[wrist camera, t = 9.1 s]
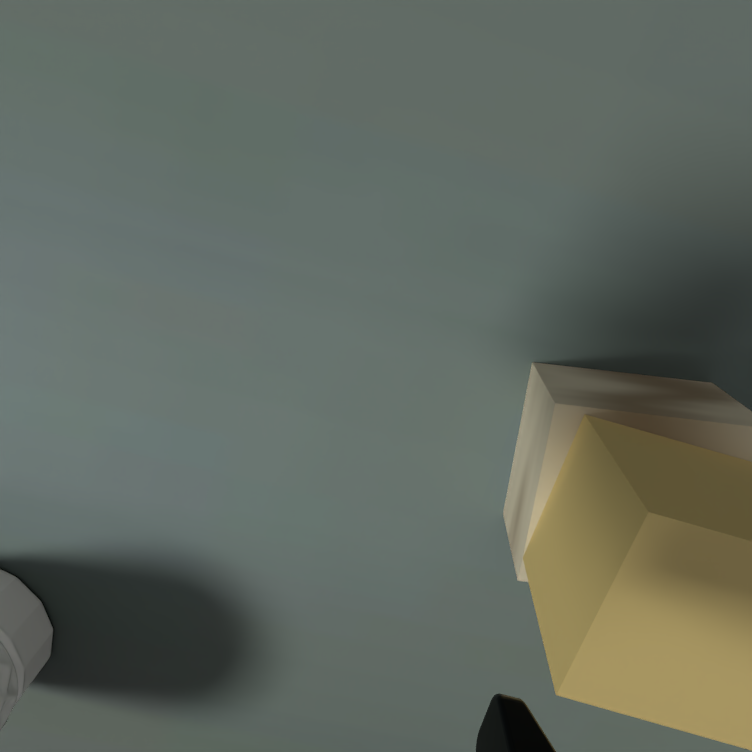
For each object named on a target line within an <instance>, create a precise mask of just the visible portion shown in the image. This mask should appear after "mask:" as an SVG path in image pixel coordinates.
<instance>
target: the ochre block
mask: <svg viewBox="0 0 752 752" xmlns="http://www.w3.org/2000/svg"><path fill="white" fill-rule="evenodd" d="M523 561H524V565H525V570H526V574H527V578H528V582H529V586H530V590H531V594H532V598H533V602H534V606H535V611H536V615H537V619H538V623H539V627H540V631H541V635H542V639H543V643H544V647H545V652H546V656H547V660H548V664H549V668H550V672H551V676H552V680H553V684H554V689H555V693H556V695H558V696H561V697H565V698H568V699H572V700H575V701H579V702H583V703H586V704H590V705H593V706H597V707H600V708H604V709H607V710H611V711H614V712H618V713H621V714H625V715H628V716H632V717H636V718H639V719H643V720H646V721H650V722H653V723H657V724H660V725H664V726H667V727H671V728H674V729H678V730H681V731H685V732H689V733H692V734H696V735H699V736H703V737H706V738H710V739H713V740H717V741H720V742H724V743H727V744H731V745H734V746H738V747H742V748H745V749H749V750H752V462H750V461H747V460H743V459H740V458H736V457H733V456H729V455H726V454H722V453H719V452H715V451H712V450H708V449H705V448H701V447H698V446H694V445H691V444H687V443H684V442H680V441H677V440H673V439H670V438H666V437H663V436H659V435H656V434H652V433H649V432H645V431H642V430H638V429H635V428H631V427H628V426H624V425H621V424H617V423H614V422H610V421H607V420H603V419H600V418H596V417H593V416H589V415H586V414H584V417H583V419H582V421H581V424H580V426H579V428H578V431H577V433H576V435H575V437H574V440H573V442H572V444H571V447H570V449H569V451H568V454H567V456H566V458H565V461H564V463H563V465H562V468H561V470H560V472H559V475H558V477H557V479H556V482H555V484H554V486H553V489H552V491H551V493H550V496H549V498H548V500H547V502H546V505H545V507H544V509H543V512H542V514H541V516H540V519H539V521H538V523H537V526H536V528H535V530H534V533H533V535H532V537H531V540H530V542H529V544H528V547H527V549H526V551H525V554H524V556H523Z"/></svg>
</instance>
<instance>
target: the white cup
mask: <svg viewBox="0 0 752 752" xmlns="http://www.w3.org/2000/svg"><path fill="white" fill-rule="evenodd" d="M52 638H53V627H52V625H51V623H50V620H49V618H48V616H47V613H46V611H45V609H44V606H43V604H42V602H41V601H40V600H39V599H38V598H37V597H36V596H35V595H34V594H33V593H32V592H31V591H30V590H29V589H28V588H27V587H26V586H25V585H24V584H23V583H22V582H21V581H20V580H19V579H18V578H17V577H15V576H13V575H11V574H9V573H7V572H5V571H3V570H1V569H0V730H1V729H2V727H3V726H4V725H5V724H6V722H7V720H8V717H9V715H10V713H11V711H12V709H13V707H14V706H15V705H16V703H17V702H18V701H19V699H20V698H21V696H22V695H23V693H24V692H25V691H26V689H27V688H28V687H29V685H30V684H31V682H32V681H33V680H34V678H35V677H36V676H37V674H38V673H39V672H40V670H41V669H42V667H43V666H44V665H45V663H46V662H47V661H48V659H49V658H50V656H51V647H52Z"/></svg>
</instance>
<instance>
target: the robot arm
mask: <svg viewBox="0 0 752 752" xmlns="http://www.w3.org/2000/svg"><path fill="white" fill-rule="evenodd" d="M476 752H556V751H555V749H554V748H553V746H552V745H551V743H550V742H549V740H548V738H547V737H546V735H545V734H544V732H543V730H542V729H541V727H540V726H539V724H538V723H537V721H536V719H535V718H534V716H533V715H532V713H531V711H530V710H529V708H528V707H527V705H526V704H525V703H524V702H523V701H522V700H521V699H519V698H515V697H511V696H507V695H503V694H496V695H494V697H493V698H492V700H491V702H490V705H489V707H488V710H487V712H486V715H485V717H484V720H483V722H482V725H481V727H480V730H479V733H478V737H477V744H476Z"/></svg>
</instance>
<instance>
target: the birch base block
mask: <svg viewBox="0 0 752 752" xmlns="http://www.w3.org/2000/svg"><path fill="white" fill-rule="evenodd" d="M584 414H586V415H589V416H593V417H596V418H600V419H603V420H607V421H610V422H614V423H617V424H621V425H624V426H628V427H631V428H635V429H638V430H642V431H645V432H649V433H652V434H656V435H659V436H663V437H666V438H670V439H673V440H677V441H680V442H684V443H687V444H691V445H694V446H698V447H701V448H705V449H708V450H712V451H715V452H719V453H722V454H726V455H729V456H733V457H736V458H740V459H743V460H747V461H750V462H752V411H751V410H749V409H748V408H746V407H745V406H744V405H742V404H741V403H739V402H738V401H737V400H735V399H734V398H733V397H731V396H730V395H728V394H727V393H726V392H724V391H723V390H722V389H720V388H719V387H717V386H716V385H715V384H713V383H710V382H701V381H692V380H684V379H675V378H666V377H657V376H649V375H640V374H631V373H622V372H614V371H605V370H596V369H587V368H579V367H570V366H561V365H552V364H544V363H535V362H532V366H531V371H530V376H529V382H528V387H527V392H526V397H525V402H524V408H523V413H522V418H521V423H520V428H519V434H518V439H517V444H516V449H515V454H514V460H513V465H512V470H511V475H510V480H509V486H508V491H507V496H506V501H505V506H504V512H503V516H504V520H505V525H506V529H507V534H508V538H509V543H510V548H511V552H512V557H513V561H514V566H515V570H516V575H517V580H518V581H524V582H528V578H527V574H526V570H525V565H524V561H523V556H524V554H525V551H526V549H527V547H528V544H529V542H530V540H531V537H532V535H533V533H534V530H535V528H536V526H537V523H538V521H539V519H540V516H541V514H542V512H543V509H544V507H545V505H546V502H547V500H548V498H549V496H550V493H551V491H552V489H553V486H554V484H555V482H556V479H557V477H558V475H559V472H560V470H561V468H562V465H563V463H564V461H565V458H566V456H567V454H568V451H569V449H570V447H571V444H572V442H573V440H574V437H575V435H576V433H577V431H578V428H579V426H580V424H581V421H582V419H583V417H584Z"/></svg>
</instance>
